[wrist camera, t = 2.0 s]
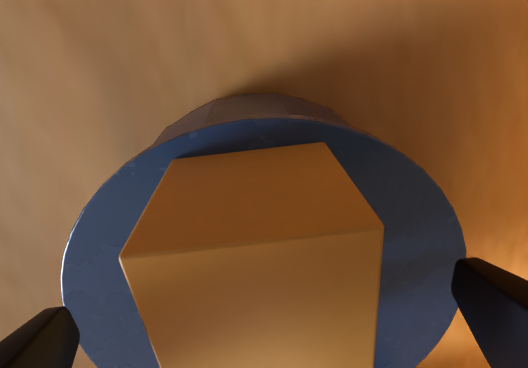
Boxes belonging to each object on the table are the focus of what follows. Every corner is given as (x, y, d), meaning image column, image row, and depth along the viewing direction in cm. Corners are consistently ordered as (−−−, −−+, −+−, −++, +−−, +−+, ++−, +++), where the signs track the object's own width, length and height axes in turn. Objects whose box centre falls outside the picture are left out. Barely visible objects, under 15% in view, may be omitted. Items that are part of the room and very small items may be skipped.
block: (327, 261, 12) (374, 391, 7) (200, 276, 12) (176, 415, 7) (324, 140, 10) (386, 225, 5) (171, 158, 10) (115, 257, 5)
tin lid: (426, 381, 17) (495, 515, 12) (137, 416, 17) (96, 564, 12) (482, 82, 10) (682, 126, 6) (4, 138, 10) (-202, 230, 5)
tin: (375, 293, 22) (423, 388, 16) (168, 318, 22) (141, 422, 16) (390, 76, 16) (476, 103, 10) (100, 110, 16) (14, 158, 10)
